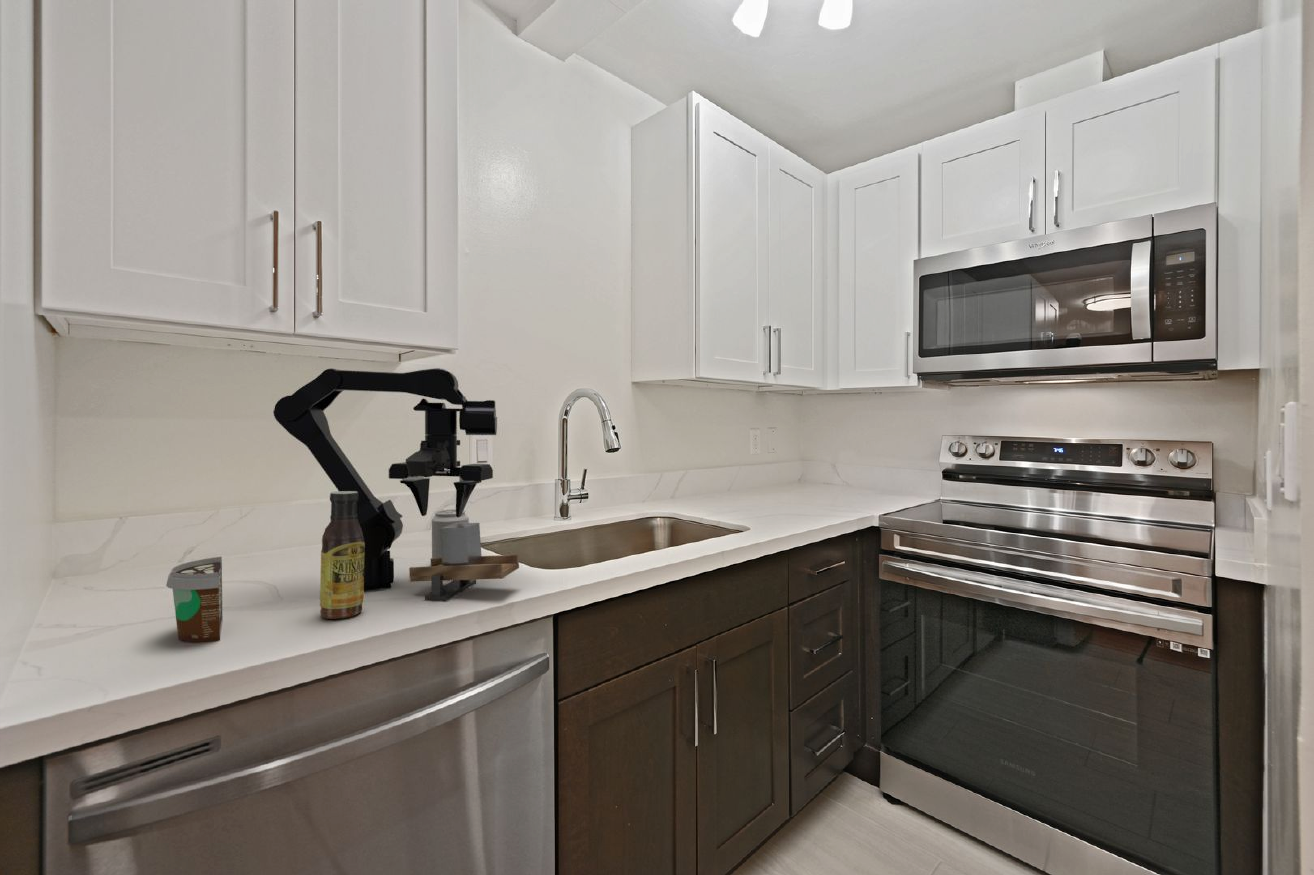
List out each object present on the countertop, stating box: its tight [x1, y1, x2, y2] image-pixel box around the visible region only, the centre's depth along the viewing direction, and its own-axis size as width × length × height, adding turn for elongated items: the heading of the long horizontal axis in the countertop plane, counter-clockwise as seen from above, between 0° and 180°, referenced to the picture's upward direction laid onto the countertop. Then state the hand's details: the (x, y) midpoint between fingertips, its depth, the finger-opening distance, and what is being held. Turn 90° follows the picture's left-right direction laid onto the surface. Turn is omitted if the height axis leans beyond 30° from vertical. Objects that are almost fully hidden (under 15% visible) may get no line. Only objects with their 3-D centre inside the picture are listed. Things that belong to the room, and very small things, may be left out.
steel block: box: [440, 522, 482, 566], centre depth 105 cm, size 5×5×8 cm
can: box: [431, 508, 470, 558], centre depth 124 cm, size 8×8×12 cm
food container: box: [165, 556, 224, 644], centre depth 84 cm, size 12×6×10 cm, turn 35°
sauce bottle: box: [319, 490, 365, 620], centre depth 93 cm, size 6×6×20 cm
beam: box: [408, 554, 520, 583], centre depth 105 cm, size 18×8×3 cm, turn 80°
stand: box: [424, 574, 477, 602], centre depth 106 cm, size 4×11×4 cm, turn 170°
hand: (441, 516), depth 111 cm, fingers open, 7 cm apart
